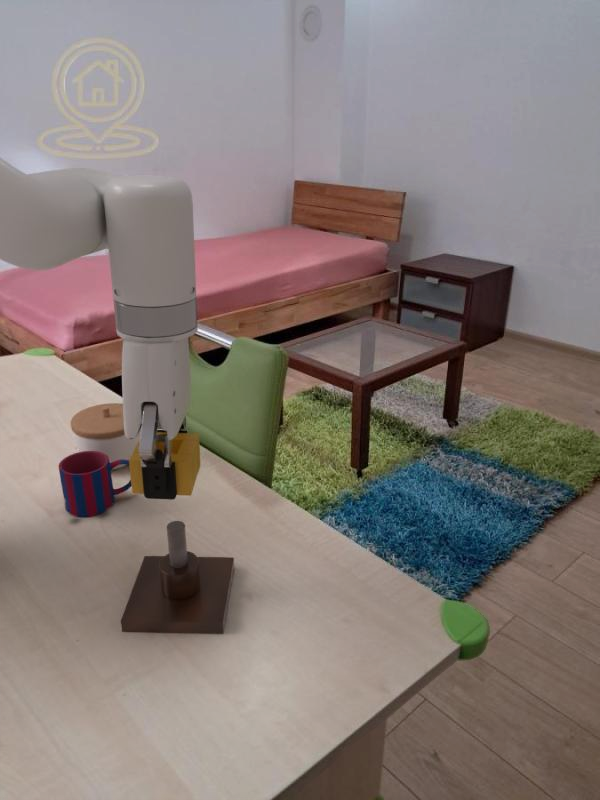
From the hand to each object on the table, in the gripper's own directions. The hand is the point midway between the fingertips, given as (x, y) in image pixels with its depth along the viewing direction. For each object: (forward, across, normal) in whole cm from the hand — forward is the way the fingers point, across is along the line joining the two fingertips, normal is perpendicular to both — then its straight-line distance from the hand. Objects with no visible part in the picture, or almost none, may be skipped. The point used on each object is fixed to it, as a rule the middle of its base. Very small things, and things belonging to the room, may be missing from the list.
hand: (167, 478), depth 67 cm
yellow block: (0, 0, 0) cm, 0 cm away
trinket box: (+17, -31, -16) cm, 39 cm away
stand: (+16, 0, +1) cm, 16 cm away
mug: (+17, -19, -14) cm, 29 cm away
